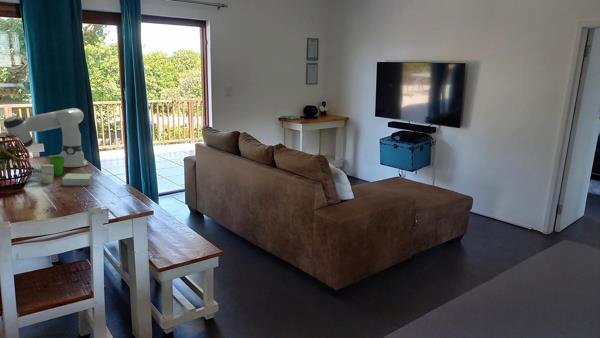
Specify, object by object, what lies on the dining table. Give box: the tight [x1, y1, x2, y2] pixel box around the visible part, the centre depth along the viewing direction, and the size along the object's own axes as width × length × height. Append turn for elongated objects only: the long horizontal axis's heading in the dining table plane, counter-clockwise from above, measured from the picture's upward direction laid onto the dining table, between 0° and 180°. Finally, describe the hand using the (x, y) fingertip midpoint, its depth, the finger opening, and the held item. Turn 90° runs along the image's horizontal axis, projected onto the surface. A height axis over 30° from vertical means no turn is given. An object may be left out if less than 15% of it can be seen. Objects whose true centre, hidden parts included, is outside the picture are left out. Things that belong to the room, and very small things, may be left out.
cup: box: [48, 155, 65, 177], centre depth 271 cm, size 9×9×11 cm
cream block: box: [40, 164, 55, 184], centre depth 253 cm, size 5×5×10 cm
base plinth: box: [61, 173, 94, 187], centre depth 258 cm, size 13×14×4 cm
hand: (40, 173), depth 252 cm, fingers open, 8 cm apart
